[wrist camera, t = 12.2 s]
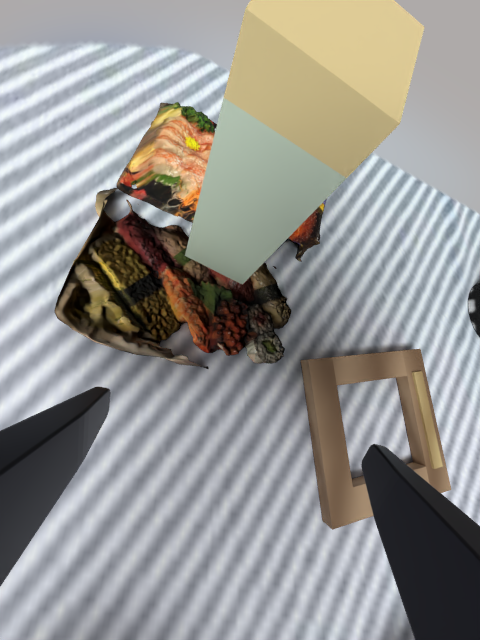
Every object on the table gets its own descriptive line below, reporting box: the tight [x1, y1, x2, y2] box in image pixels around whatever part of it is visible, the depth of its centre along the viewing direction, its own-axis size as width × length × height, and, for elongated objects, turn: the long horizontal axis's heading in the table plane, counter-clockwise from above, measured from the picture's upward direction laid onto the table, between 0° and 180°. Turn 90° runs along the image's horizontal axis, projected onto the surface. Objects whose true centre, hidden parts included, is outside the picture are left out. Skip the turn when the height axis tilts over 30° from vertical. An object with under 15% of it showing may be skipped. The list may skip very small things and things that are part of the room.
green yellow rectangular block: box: [185, 0, 424, 285], centre depth 13 cm, size 4×4×13 cm
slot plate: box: [301, 349, 451, 529], centre depth 22 cm, size 12×12×1 cm
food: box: [55, 102, 327, 369], centre depth 21 cm, size 22×19×4 cm
